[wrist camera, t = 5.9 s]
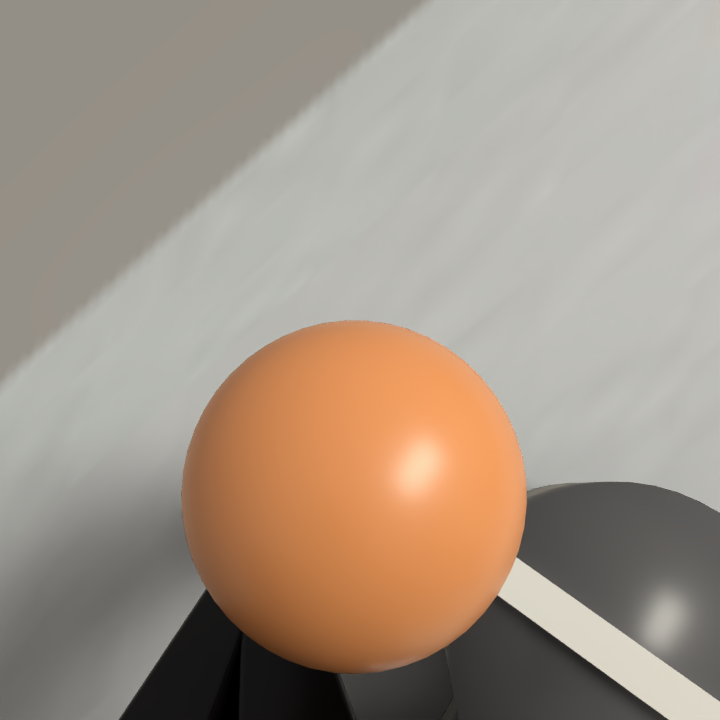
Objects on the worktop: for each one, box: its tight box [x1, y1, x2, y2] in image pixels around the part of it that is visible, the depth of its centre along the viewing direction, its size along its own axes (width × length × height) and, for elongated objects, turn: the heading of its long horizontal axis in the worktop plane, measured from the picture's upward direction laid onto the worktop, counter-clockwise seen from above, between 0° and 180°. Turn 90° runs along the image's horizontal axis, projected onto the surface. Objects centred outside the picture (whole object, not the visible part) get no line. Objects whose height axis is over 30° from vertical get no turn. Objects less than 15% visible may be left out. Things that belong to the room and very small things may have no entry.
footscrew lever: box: [181, 321, 720, 720], centre depth 8 cm, size 9×6×11 cm, turn 55°
